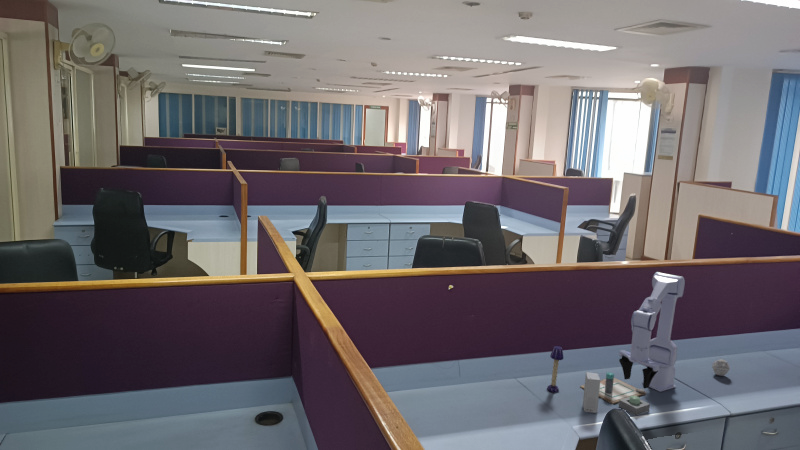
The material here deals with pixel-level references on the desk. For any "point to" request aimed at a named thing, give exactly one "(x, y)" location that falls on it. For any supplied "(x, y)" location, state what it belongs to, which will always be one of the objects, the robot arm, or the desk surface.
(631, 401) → the button
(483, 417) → the desk surface
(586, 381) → the skincare box
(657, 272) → the robot arm
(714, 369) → the grey lumpy rounded piece
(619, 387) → the framed board
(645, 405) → the button housing
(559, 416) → the desk surface
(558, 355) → the toy lamp
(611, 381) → the marker
